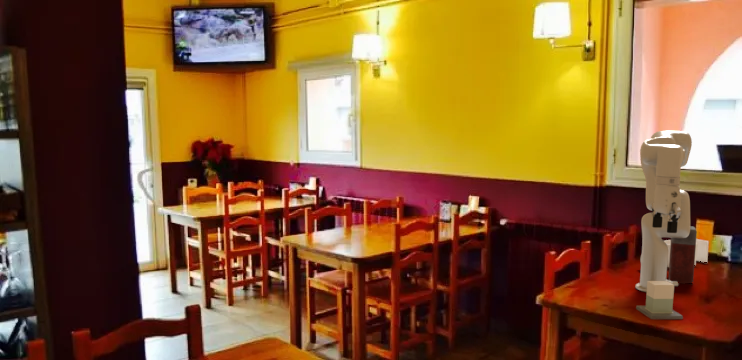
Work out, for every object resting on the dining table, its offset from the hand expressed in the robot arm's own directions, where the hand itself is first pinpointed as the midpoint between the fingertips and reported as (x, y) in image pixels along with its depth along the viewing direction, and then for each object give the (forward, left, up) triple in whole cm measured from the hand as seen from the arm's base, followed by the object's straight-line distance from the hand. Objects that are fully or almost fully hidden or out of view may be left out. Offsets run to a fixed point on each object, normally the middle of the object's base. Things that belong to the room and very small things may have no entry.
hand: (664, 230), depth 204 cm
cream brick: (0, 0, -24) cm, 24 cm away
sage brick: (0, 0, -29) cm, 29 cm away
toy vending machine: (-33, -44, -31) cm, 63 cm away
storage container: (-50, -74, -31) cm, 94 cm away
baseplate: (0, 0, -30) cm, 30 cm away
